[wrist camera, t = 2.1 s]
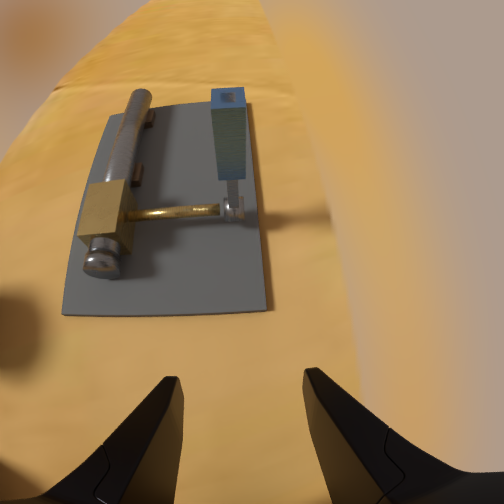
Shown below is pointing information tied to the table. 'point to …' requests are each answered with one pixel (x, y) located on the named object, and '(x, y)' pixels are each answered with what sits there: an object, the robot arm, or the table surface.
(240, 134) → the valve lever
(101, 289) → the gray mounting plate
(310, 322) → the table surface
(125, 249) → the valve pipe
